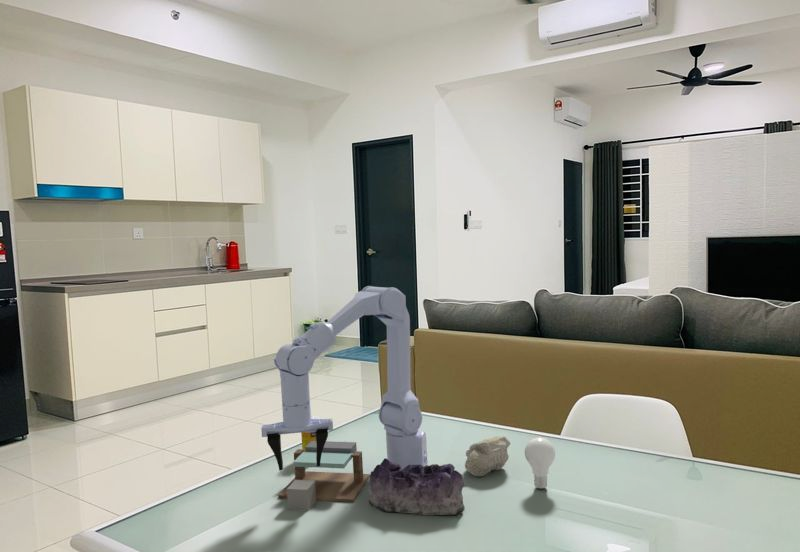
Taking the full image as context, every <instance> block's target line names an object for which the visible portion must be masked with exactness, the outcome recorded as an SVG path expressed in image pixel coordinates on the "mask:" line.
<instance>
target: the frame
mask: <svg viewBox="0 0 800 552" xmlns="http://www.w3.org/2000/svg"><path fill="white" fill-rule="evenodd" d="M303 452H304V449H302V448H301V449H300V448H298V449H296V450H295V451H294V452H293V462H294V461H295V460H296V459H297V458H298V457H299V456H300V455H301V454H302V453H303ZM363 465H364V464H363V451H358V450H357V451H355V453H354V454H353V457H352V466H353V467H352V470H353V472H352V473H351V472H348V473H347V472H332V471H331V472H329V471H327V472H326V471H306V467H296V466H293V467H294V477H293V479H291V481H290V482H289V483H288V484H287V485H286V486H285V488H283V490H281V492H280V493H279V494H278V497H277V498H278V499H287V488H288V487H289V486H290V485H291V484H292V483H293V482H294V480H311V481H315V488H316V501H326V502H343V503H354V502H355V501H356V500H357V498H358V496H359V495H360V493H361V492H362V490H363V488H364V487H365V485H366V483H367V482H368V480H370V474H371V473H364V468H363V467H364V466H363Z"/></svg>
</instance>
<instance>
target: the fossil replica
mask: <svg viewBox="0 0 800 552" xmlns="http://www.w3.org/2000/svg"><path fill="white" fill-rule="evenodd" d="M510 445H511V441H510V440H509V439H508V438H507V437H506V436H505V435H502V436H494V437H491V438H485V439H483V440H481V441H479V442H476V443H475V442H474V443H472V444H471V445H470V446H469V449H467V450H466V451H465V456H466V457H467V458H466V460H465V463H464V467H465V470H466V471H467V472H468V473H470V474H471V475H473V476H475V477H478V478H479V477H485V476H486V475H487V474H488V473H490V472H491V471H499V470H501V469H502V468H503V467H504V466H505V465H506V463H507V462H508V461H509V454H508V448H509V446H510Z"/></svg>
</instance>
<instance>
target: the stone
mask: <svg viewBox="0 0 800 552" xmlns="http://www.w3.org/2000/svg"><path fill="white" fill-rule="evenodd" d="M286 500H287V510H289V511H305V512H309V511H310V510H311V508H312V507H313V506H314V504H315V503H316V502H317V500H316V488H315V481H311V480H294V482H293V483H292V484H291V485H290V486H289V487H288V488H287V498H286Z"/></svg>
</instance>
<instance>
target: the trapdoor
mask: <svg viewBox="0 0 800 552" xmlns="http://www.w3.org/2000/svg"><path fill="white" fill-rule="evenodd" d="M357 449H358V448H357V442H356V441H355V442H354V441H331V440H330V441H328V440H326V442H325V445H324V448H323V451H322V455H321V461H320V466H317V461H316V452H317V444H316V441H311V442H310V443H309V444H308V445H307V446H306V447H305V450H306V452H303V453H302V454H301V455H300V456H299V457H298V458H297V459H296V460H295V461H294V460H293V462H292V463H293V466H292V467H294V466H296V467H305V468H318V469H319V468H322V469H323V468H326V469H342V470H344V469H345V468H346V467H347V465H348V464H349V462H351V460H353V454H354V453H355V451H358V450H357Z"/></svg>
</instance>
